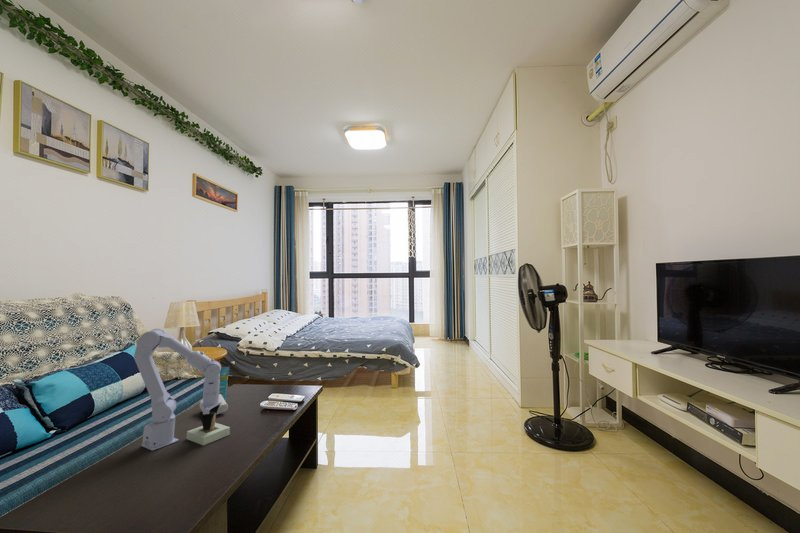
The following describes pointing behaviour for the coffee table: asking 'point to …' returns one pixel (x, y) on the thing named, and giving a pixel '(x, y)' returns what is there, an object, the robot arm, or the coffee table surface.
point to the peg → (211, 425)
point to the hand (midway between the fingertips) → (209, 426)
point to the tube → (223, 381)
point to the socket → (208, 434)
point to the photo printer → (221, 408)
